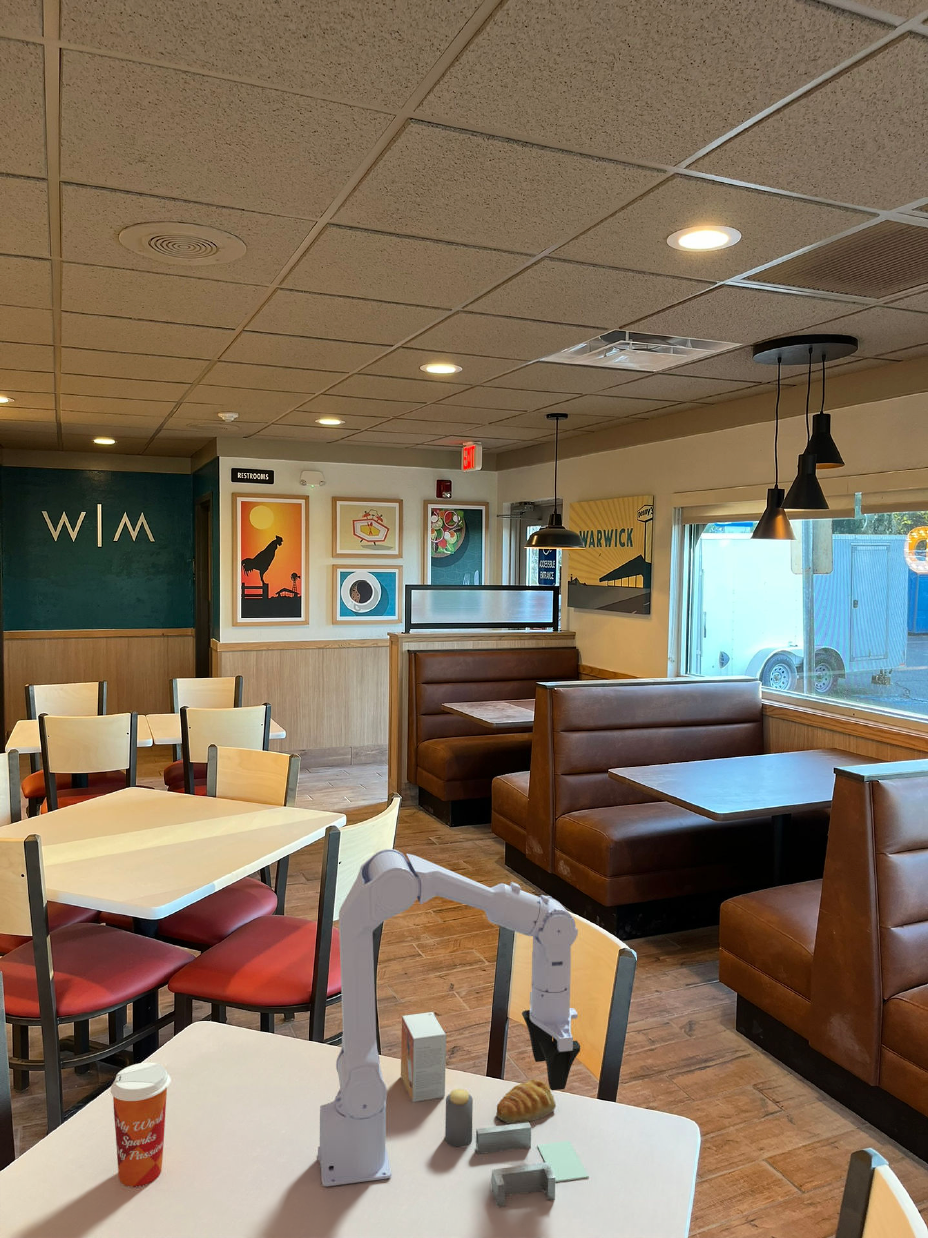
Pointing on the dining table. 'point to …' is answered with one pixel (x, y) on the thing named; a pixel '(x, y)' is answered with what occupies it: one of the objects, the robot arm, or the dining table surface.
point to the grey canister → (458, 1118)
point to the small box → (423, 1056)
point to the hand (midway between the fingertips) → (549, 1074)
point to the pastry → (526, 1102)
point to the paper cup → (140, 1122)
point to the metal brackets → (519, 1176)
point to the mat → (563, 1161)
